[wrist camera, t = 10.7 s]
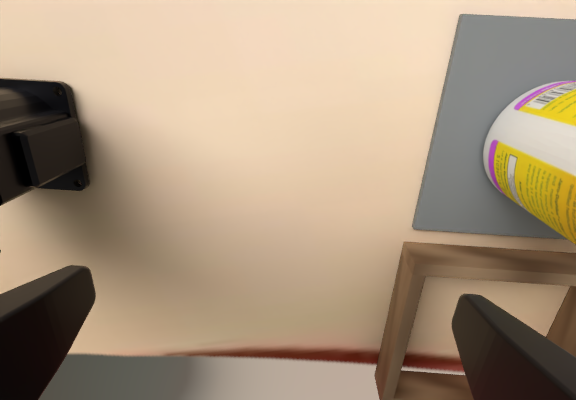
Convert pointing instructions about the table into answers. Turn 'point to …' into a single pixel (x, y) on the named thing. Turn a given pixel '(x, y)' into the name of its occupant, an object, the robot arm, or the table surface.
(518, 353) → the robot arm
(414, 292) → the square frame
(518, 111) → the supplement bottle
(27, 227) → the table surface
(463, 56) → the mat
